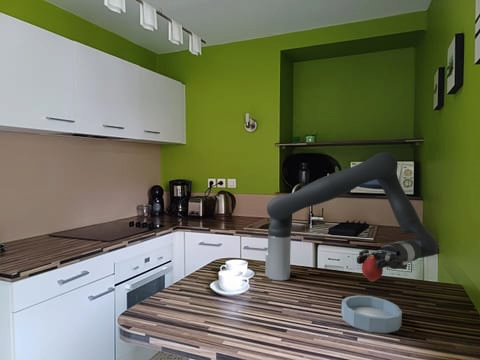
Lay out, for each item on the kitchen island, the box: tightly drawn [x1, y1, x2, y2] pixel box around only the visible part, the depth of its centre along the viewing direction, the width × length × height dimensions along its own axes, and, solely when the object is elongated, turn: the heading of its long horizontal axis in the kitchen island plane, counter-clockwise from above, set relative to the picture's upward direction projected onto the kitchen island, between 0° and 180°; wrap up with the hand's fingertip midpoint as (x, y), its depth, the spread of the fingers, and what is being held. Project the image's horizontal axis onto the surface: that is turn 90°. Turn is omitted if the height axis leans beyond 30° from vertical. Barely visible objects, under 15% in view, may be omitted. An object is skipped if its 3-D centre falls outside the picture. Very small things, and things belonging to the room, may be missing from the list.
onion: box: [361, 255, 384, 283], centre depth 97 cm, size 6×6×8 cm
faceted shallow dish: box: [341, 294, 403, 334], centre depth 97 cm, size 16×16×4 cm
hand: (367, 262), depth 95 cm, fingers closed on onion, 5 cm apart
